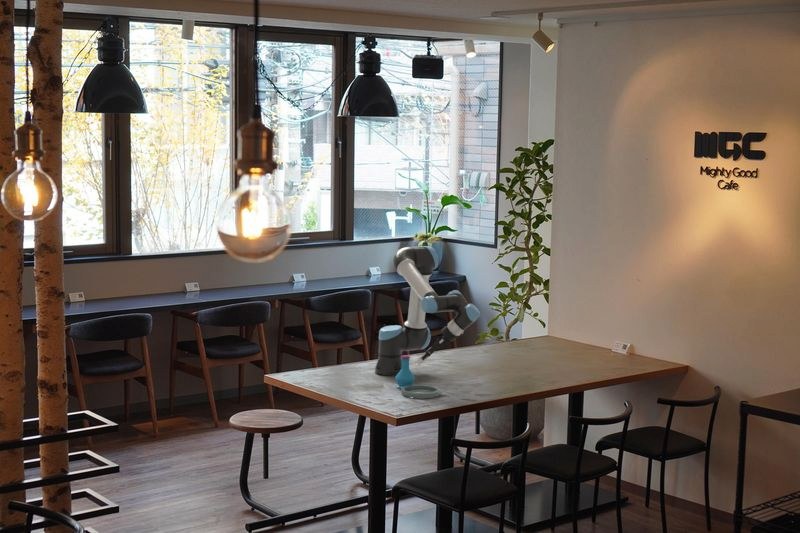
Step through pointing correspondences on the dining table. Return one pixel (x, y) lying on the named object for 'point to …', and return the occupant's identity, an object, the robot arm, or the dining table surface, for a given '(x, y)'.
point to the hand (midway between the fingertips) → (420, 360)
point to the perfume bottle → (405, 373)
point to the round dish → (420, 391)
